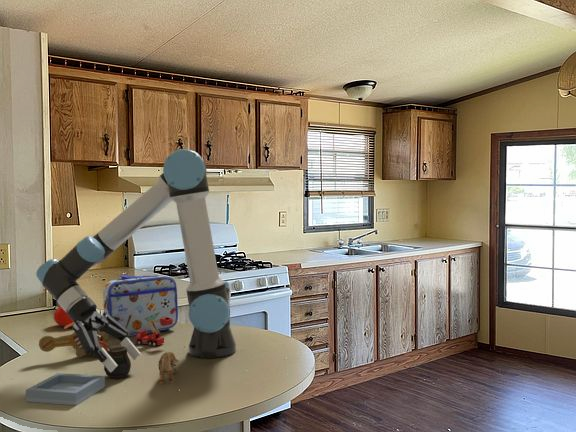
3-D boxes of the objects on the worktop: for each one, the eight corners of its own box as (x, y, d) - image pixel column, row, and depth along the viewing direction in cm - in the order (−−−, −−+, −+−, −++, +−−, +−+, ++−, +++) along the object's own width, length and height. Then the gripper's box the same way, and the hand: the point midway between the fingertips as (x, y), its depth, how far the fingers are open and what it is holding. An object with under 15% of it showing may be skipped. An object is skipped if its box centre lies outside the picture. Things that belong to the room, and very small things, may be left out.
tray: (105, 387, 148) (104, 375, 148) (76, 405, 135) (76, 393, 135) (58, 383, 151) (58, 373, 151) (26, 401, 138) (25, 389, 138)
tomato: (49, 325, 219) (48, 304, 219) (80, 320, 228) (79, 300, 228) (61, 331, 210) (60, 309, 210) (93, 325, 219) (92, 304, 218)
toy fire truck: (140, 341, 194) (139, 314, 194) (173, 345, 189) (173, 316, 189) (134, 344, 191) (133, 316, 191) (167, 347, 186) (167, 319, 185)
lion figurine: (179, 386, 148) (178, 353, 147) (159, 388, 146) (158, 355, 146) (176, 369, 162) (176, 339, 162) (158, 371, 161) (157, 340, 160)
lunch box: (106, 341, 195) (104, 279, 194) (99, 335, 204) (97, 275, 203) (180, 330, 209) (179, 272, 209) (171, 324, 218) (169, 269, 217)
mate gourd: (136, 373, 160) (135, 338, 159) (122, 381, 152) (121, 345, 152) (113, 371, 161) (112, 337, 161) (98, 380, 154) (97, 344, 153)
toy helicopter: (111, 355, 178) (110, 312, 177) (41, 367, 167) (40, 321, 166) (105, 349, 185) (104, 308, 184) (37, 360, 173) (36, 316, 173)
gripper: (95, 305, 172) (140, 359, 168) (41, 322, 149) (92, 385, 145) (109, 289, 170) (156, 343, 166) (57, 304, 148) (109, 366, 144)
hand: (126, 362), depth 156 cm, fingers open, 11 cm apart
